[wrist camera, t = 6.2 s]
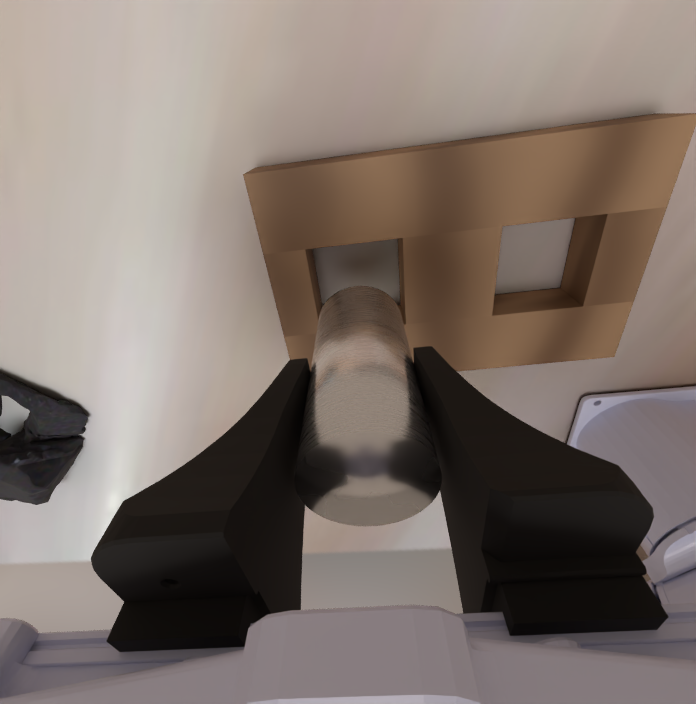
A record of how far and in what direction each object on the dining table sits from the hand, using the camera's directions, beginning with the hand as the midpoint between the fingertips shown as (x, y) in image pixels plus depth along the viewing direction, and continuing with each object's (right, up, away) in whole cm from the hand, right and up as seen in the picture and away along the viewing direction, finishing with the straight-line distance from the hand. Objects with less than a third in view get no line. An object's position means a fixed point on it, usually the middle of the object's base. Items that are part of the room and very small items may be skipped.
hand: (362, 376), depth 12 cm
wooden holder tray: (+5, +6, +8) cm, 11 cm away
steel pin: (0, +2, +3) cm, 4 cm away
